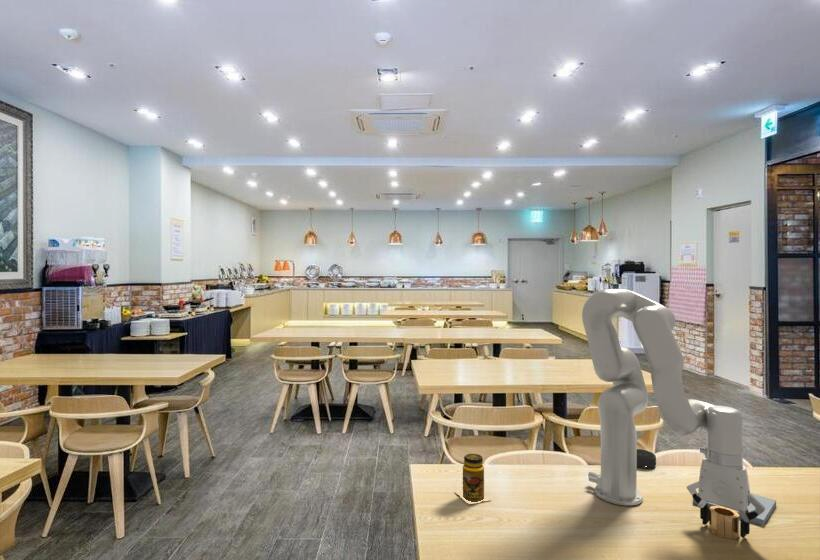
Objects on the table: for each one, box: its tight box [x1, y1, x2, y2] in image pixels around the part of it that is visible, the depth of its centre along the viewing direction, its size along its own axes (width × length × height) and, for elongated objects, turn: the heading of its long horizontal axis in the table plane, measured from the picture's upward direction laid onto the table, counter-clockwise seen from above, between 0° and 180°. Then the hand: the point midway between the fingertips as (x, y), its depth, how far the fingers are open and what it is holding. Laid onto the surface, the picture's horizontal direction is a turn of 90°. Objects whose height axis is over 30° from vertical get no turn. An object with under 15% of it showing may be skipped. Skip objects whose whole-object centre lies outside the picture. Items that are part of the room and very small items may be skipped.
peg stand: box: [692, 492, 777, 527], centre depth 128 cm, size 16×16×8 cm
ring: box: [708, 506, 740, 540], centre depth 114 cm, size 6×6×5 cm
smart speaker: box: [637, 448, 657, 469], centre depth 157 cm, size 9×9×4 cm
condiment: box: [462, 453, 485, 502], centre depth 132 cm, size 7×8×12 cm
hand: (724, 528), depth 114 cm, fingers open, 7 cm apart
